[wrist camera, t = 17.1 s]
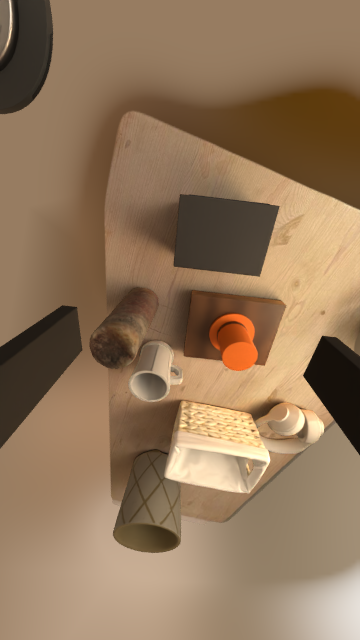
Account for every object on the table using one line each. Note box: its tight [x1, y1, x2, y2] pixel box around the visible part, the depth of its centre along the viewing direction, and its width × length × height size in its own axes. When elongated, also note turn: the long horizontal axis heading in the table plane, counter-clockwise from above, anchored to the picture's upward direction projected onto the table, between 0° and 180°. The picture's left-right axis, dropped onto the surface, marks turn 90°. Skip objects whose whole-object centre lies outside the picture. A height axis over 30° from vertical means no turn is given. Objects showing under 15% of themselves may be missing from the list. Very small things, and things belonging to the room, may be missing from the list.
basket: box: [164, 401, 270, 493], centre depth 58 cm, size 24×16×15 cm
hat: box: [209, 313, 258, 371], centre depth 43 cm, size 10×10×9 cm
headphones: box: [254, 403, 324, 454], centre depth 60 cm, size 18×8×20 cm
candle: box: [90, 288, 159, 369], centre depth 39 cm, size 8×7×20 cm
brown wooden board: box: [184, 290, 286, 366], centre depth 48 cm, size 20×16×3 cm
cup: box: [128, 340, 183, 402], centre depth 49 cm, size 10×9×12 cm
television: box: [174, 194, 279, 276], centre depth 36 cm, size 14×10×11 cm
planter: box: [113, 450, 181, 553], centre depth 67 cm, size 19×19×20 cm
